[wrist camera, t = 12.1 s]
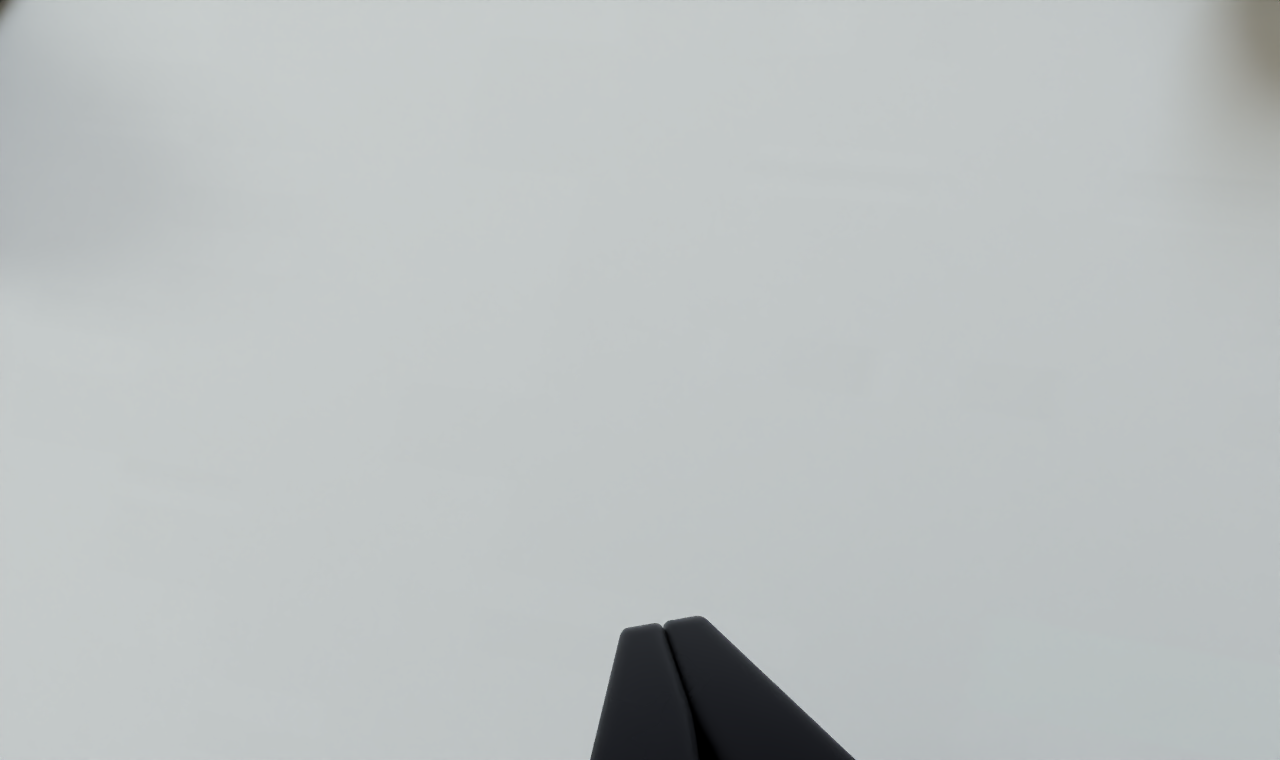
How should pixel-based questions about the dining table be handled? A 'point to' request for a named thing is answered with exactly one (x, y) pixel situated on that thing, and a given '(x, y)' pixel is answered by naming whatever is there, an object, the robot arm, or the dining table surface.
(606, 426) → the dining table surface
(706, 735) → the robot arm
